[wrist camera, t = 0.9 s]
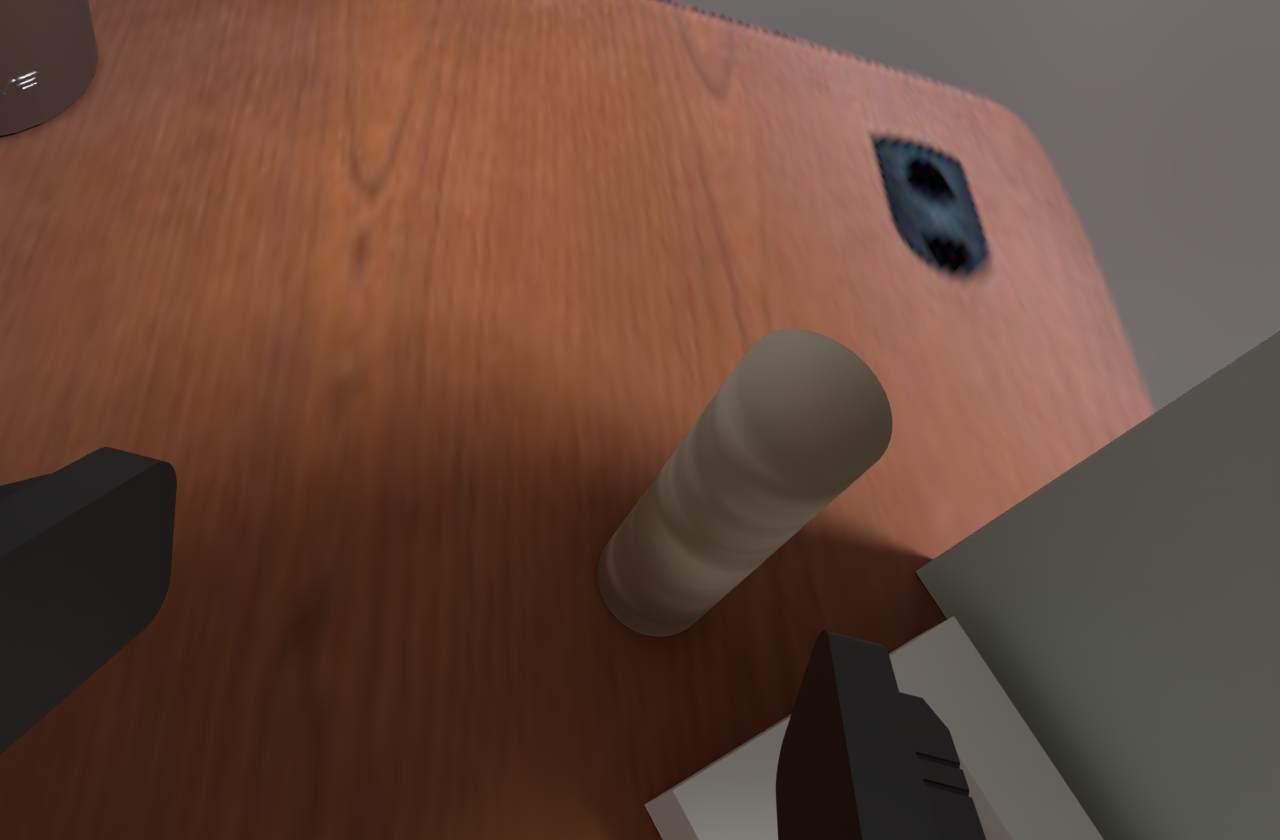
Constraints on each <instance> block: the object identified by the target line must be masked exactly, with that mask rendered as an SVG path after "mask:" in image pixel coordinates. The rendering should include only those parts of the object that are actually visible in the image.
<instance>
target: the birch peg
mask: <svg viewBox="0 0 1280 840" xmlns="http://www.w3.org/2000/svg"><path fill="white" fill-rule="evenodd" d="M891 433H892V414H891V409H890V405H889V401H888V399H887V396H886V393H885V391H884V389H883V387H882V385H881V384H880V382H879V380H878V379H877V377H876V376H875V374H874V373H873V372H872V371H871V369H870V368H869V367H868V366H867V365H866V364H865V363H864V362H863V360H861V359H860V358H859V357H858V356H857V355H856V354H855V353H853V352H852V351H851V350H849V349H848V348H847V347H845V346H844V345H842V344H840V343H839V342H837V341H835V340H833V339H831V338H829V337H826V336H824V335H821V334H818V333H814V332H810V331H805V330H782V331H777V332H773V333H771V334H768V335H766V336H764V337H762V338H761V339H759V340H758V341H757V342H756V343H755V344H753V345H752V346H751V348H750V349H749V350H748V352H747V353H746V354H745V356H744V357H743V358H742V360H741V361H740V363H739V364H738V365H737V367H736V368H735V369H734V371H733V372H732V373H731V375H730V376H729V378H728V379H727V380H726V382H725V383H724V384H723V386H722V387H721V388H720V390H719V391H718V393H717V394H716V395H715V397H714V398H713V399H712V401H711V402H710V403H709V405H708V406H707V408H706V409H705V410H704V412H703V413H702V414H701V416H700V417H699V418H698V420H697V421H696V423H695V424H694V425H693V427H692V428H691V429H690V431H689V432H688V433H687V435H686V436H685V438H684V439H683V440H682V442H681V443H680V444H679V446H678V447H677V448H676V450H675V451H674V453H673V454H672V455H671V457H670V458H669V459H668V461H667V462H666V463H665V465H664V466H663V468H662V469H661V470H660V472H659V473H658V474H657V476H656V477H655V478H654V480H653V481H652V483H651V484H650V485H649V487H648V488H647V489H646V491H645V492H644V493H643V495H642V496H641V498H640V499H639V500H638V502H637V503H636V504H635V506H634V507H633V508H632V510H631V511H630V513H629V514H628V515H627V517H626V518H625V519H624V521H623V522H622V523H621V525H620V526H619V528H618V529H617V530H616V532H615V533H614V534H613V536H612V537H611V538H610V540H609V541H608V543H607V544H606V545H605V547H604V548H603V550H602V552H601V555H600V557H599V561H598V565H597V582H598V587H599V591H600V594H601V597H602V599H603V601H604V603H605V604H606V606H607V608H608V609H609V611H610V612H611V613H612V614H613V616H614V617H616V618H617V619H618V620H619V621H620V622H621V623H622V624H624V625H625V626H626V627H628V628H630V629H631V630H633V631H636V632H638V633H640V634H644V635H647V636H653V637H666V636H672V635H675V634H678V633H680V632H683V631H684V630H686V629H688V628H689V627H690V626H692V625H693V624H694V623H695V622H696V621H697V620H698V619H700V618H701V617H702V616H703V615H704V614H705V613H706V612H707V611H709V610H710V609H711V608H712V607H713V606H714V605H715V604H717V603H718V602H719V601H720V600H721V599H722V598H723V597H724V596H726V595H727V594H728V593H729V592H730V591H731V590H732V589H733V588H735V587H736V586H737V585H738V584H739V583H740V582H741V581H742V580H744V579H745V578H746V577H747V576H748V575H749V574H750V573H752V572H753V571H754V570H755V569H756V568H757V567H758V566H759V565H761V564H762V563H763V562H764V561H765V560H766V559H767V558H768V557H770V556H771V555H772V554H773V553H774V552H775V551H776V550H777V549H779V548H780V547H781V546H782V545H783V544H784V543H785V542H787V541H788V540H789V539H790V538H791V537H792V536H793V535H794V534H796V533H797V532H798V531H799V530H800V529H801V528H802V527H803V526H805V525H806V524H807V523H808V522H809V521H810V520H811V519H812V518H814V517H815V516H816V515H817V514H818V513H819V512H820V511H822V510H823V509H824V508H825V507H826V506H827V505H828V504H829V503H831V502H832V501H833V500H834V499H835V498H836V497H837V496H838V495H840V494H841V493H842V492H843V491H844V490H845V489H846V488H847V487H849V486H850V485H851V484H852V483H853V482H854V481H855V480H857V479H858V478H859V477H860V476H861V475H862V474H863V473H864V472H866V471H867V470H868V469H869V468H870V467H871V466H872V465H873V464H875V463H876V462H877V461H878V460H879V459H880V458H881V456H882V455H883V454H884V452H885V451H886V449H887V447H888V444H889V442H890V439H891Z"/></svg>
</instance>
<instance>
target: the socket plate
mask: <svg viewBox="0 0 1280 840" xmlns="http://www.w3.org/2000/svg"><path fill="white" fill-rule="evenodd" d="M889 656H890V660H891V663H892V667H893V671H894V674H895V678H896V682H897V685H898V689H899V692H901V693H905V694H909V695H913V696H917V697H921V698H923V699H924V700H925V701H926V703H927V704H928V705H929V706H930V707H931V709H932V710H933V711H934V712H935V713H936V715H937V716H938V717H939V718H940V720H941V721H942V722H943V723H944V724H945V726H946V727H947V728H948V729H949V730H950V733H951V736H952V739H953V742H954V745H955V748H956V751H957V754H958V757H959V760H960V769H962V770H963V772H964V775H965V778H966V781H967V784H968V787H969V790H970V791H969V797H972V799H973V802H974V805H975V808H976V811H977V814H978V817H979V819H980V822H981V825H982V828H983V831H984V834H985V837H986V840H1104V839H1103V838H1102V836H1101V835H1100V833H1099V832H1098V830H1097V829H1096V827H1095V826H1094V824H1093V823H1092V821H1091V820H1090V818H1089V817H1088V815H1087V814H1086V812H1085V811H1084V809H1083V808H1082V806H1081V805H1080V803H1079V802H1078V800H1077V799H1076V797H1075V796H1074V794H1073V793H1072V791H1071V790H1070V788H1069V787H1068V785H1067V784H1066V782H1065V781H1064V779H1063V778H1062V776H1061V775H1060V773H1059V772H1058V770H1057V769H1056V767H1055V766H1054V764H1053V763H1052V762H1051V760H1050V759H1049V757H1048V756H1047V754H1046V753H1045V751H1044V750H1043V748H1042V747H1041V745H1040V744H1039V742H1038V741H1037V739H1036V738H1035V736H1034V735H1033V733H1032V732H1031V730H1030V729H1029V727H1028V726H1027V724H1026V723H1025V721H1024V720H1023V718H1022V717H1021V715H1020V714H1019V712H1018V711H1017V709H1016V708H1015V706H1014V705H1013V703H1012V702H1011V700H1010V699H1009V697H1008V696H1007V694H1006V693H1005V691H1004V690H1003V688H1002V687H1001V685H1000V684H999V682H998V681H997V679H996V678H995V676H994V675H993V673H992V672H991V671H990V669H989V668H988V666H987V665H986V663H985V662H984V660H983V659H982V657H981V656H980V654H979V653H978V651H977V650H976V648H975V647H974V645H973V644H972V642H971V641H970V639H969V638H968V636H967V635H966V633H965V632H964V630H963V629H962V627H961V626H960V624H959V623H958V621H957V620H956V618H955V617H954V616H953V617H951V618H949V619H947V620H946V621H944V622H942V623H940V624H938V625H937V626H935V627H933V628H931V629H929V630H928V631H926V632H924V633H922V634H920V635H919V636H917V637H915V638H913V639H912V640H910V641H908V642H907V643H905V644H904V645H902V646H900V647H899V648H897V649H895V650H894V651H892V652H891V653H889ZM790 717H791V714H790V715H789V716H787V717H785V718H784V719H782V720H780V721H779V722H777V723H776V724H774V725H772V726H771V727H769V728H767V729H766V730H764V731H763V732H761V733H759V734H758V735H756V736H755V737H753V738H751V739H750V740H748V741H746V742H745V743H743V744H742V745H740V746H738V747H737V748H735V749H733V750H732V751H730V752H729V753H727V754H725V755H724V756H722V757H721V758H719V759H717V760H716V761H714V762H712V763H711V764H709V765H708V766H706V767H704V768H703V769H701V770H699V771H698V772H696V773H695V774H693V775H691V776H690V777H688V778H687V779H685V780H683V781H682V782H680V783H678V784H677V785H675V786H674V787H672V788H670V789H669V790H667V791H665V792H664V793H662V794H661V795H659V796H657V797H656V798H654V799H653V800H651V801H649V802H648V803H646V804H644V805H645V807H646V809H647V811H648V813H649V815H650V817H651V818H652V820H653V822H654V824H655V826H656V828H657V830H658V832H659V834H660V836H661V838H662V840H778V828H777V809H776V774H777V767H778V760H779V755H780V750H781V746H782V742H783V738H784V735H785V732H786V729H787V726H788V723H789V720H790Z"/></svg>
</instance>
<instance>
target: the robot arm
mask: <svg viewBox="0 0 1280 840" xmlns="http://www.w3.org/2000/svg"><path fill="white" fill-rule="evenodd" d="M97 60H98V55H97V47H96V40H95V34H94V29H93V24H92V18H91V13H90V8H89V3H88V0H0V136H2V135H7V134H12V133H17V132H20V131H22V130H25V129H28V128H31V127H33V126H36V125H39V124H41V123H44V122H46V121H48V120H49V119H51V118H53V117H54V116H56V115H58V114H60V113H61V112H63V111H65V110H66V109H68V108H69V107H70V106H71V105H72V104H73V103H74V102H75V101H76V100H77V99H78V98H79V97H80V96H81V95H83V94H84V92H85V90H86V89H87V87H88V85H89V84H90V82H91V80H92V79H93V77H94V74H95V69H96V65H97ZM176 487H177V480H176V474H175V470H174V468H173V466H172V465H171V464H170V463H168V462H165V461H161V460H157V459H153V458H149V457H145V456H141V455H137V454H133V453H129V452H125V451H121V450H117V449H113V448H108V447H105V448H100V449H98V450H96V451H94V452H92V453H90V454H88V455H86V456H85V457H83V458H81V459H79V460H77V461H75V462H73V463H71V464H69V465H67V466H66V467H64V468H62V469H60V470H58V471H56V472H54V473H52V474H47V475H43V476H39V477H35V478H31V479H27V480H23V481H19V482H15V483H11V484H7V485H3V486H0V754H1V753H2V752H3V751H5V750H6V749H7V748H8V747H9V746H10V745H11V744H13V743H14V742H15V741H16V740H17V739H18V738H20V737H21V736H22V735H23V734H24V733H25V732H26V731H28V730H29V729H30V728H31V727H32V726H33V725H34V724H36V723H37V722H38V721H39V720H40V719H41V718H43V717H44V716H45V715H46V714H47V713H48V712H49V711H51V710H52V709H53V708H54V707H55V706H56V705H57V704H59V703H60V702H61V701H62V700H63V699H64V698H65V697H67V696H68V695H69V694H70V693H71V692H72V691H74V690H75V689H76V688H77V687H78V686H79V685H80V684H82V683H83V682H84V681H85V680H86V679H87V678H88V677H90V676H91V675H92V674H93V673H94V672H95V671H97V670H98V669H99V668H100V667H101V666H102V665H103V664H105V663H106V662H107V661H108V660H109V659H110V658H111V657H113V656H114V655H115V654H116V653H117V652H118V651H120V650H121V649H122V648H123V647H124V646H125V645H126V644H128V643H129V642H130V641H131V640H132V639H133V638H134V637H136V636H137V635H138V634H139V633H140V632H141V631H142V630H144V629H145V628H146V627H147V626H148V625H149V624H150V622H151V621H152V620H153V619H154V617H155V616H156V614H157V613H158V611H159V609H160V607H161V605H162V603H163V601H164V599H165V596H166V593H167V590H168V587H169V582H170V575H171V561H172V546H173V532H174V517H175V502H176ZM969 791H970V790H969V787H968V784H967V781H966V778H965V775H964V772H963V770H962V769H960V760H959V757H958V754H957V751H956V748H955V745H954V742H953V739H952V736H951V733H950V730H949V729H948V728H947V727H946V726H945V724H944V723H943V722H942V721H941V720H940V718H939V717H938V716H937V715H936V713H935V712H934V711H933V710H932V709H931V707H930V706H929V705H928V704H927V703H926V701H925V700H924V699H923V698H921V697H917V696H913V695H909V694H905V693H901V692H899V689H898V685H897V682H896V678H895V674H894V671H893V667H892V663H891V660H890V656H889V652H888V650H887V647H886V646H885V645H882V644H878V643H874V642H870V641H866V640H862V639H858V638H854V637H851V636H847V635H843V634H839V633H835V632H831V631H827V630H823V631H822V632H821V633H820V635H819V636H818V638H817V640H816V643H815V645H814V648H813V651H812V654H811V657H810V660H809V663H808V666H807V669H806V672H805V675H804V678H803V681H802V684H801V687H800V690H799V693H798V696H797V699H796V702H795V705H794V708H793V711H792V714H791V717H790V720H789V723H788V726H787V729H786V732H785V735H784V738H783V742H782V746H781V750H780V755H779V760H778V767H777V774H776V809H777V828H778V840H986V837H985V834H984V831H983V828H982V825H981V822H980V819H979V817H978V814H977V811H976V808H975V805H974V802H973V799H972V797H969Z"/></svg>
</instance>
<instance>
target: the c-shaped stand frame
mask: <svg viewBox="0 0 1280 840" xmlns="http://www.w3.org/2000/svg"><path fill="white" fill-rule="evenodd" d="M915 572H916V573H917V575H918V576H919V578H920V579H921V581H922V582H923V584H924V585H925V587H926V588H927V590H928V591H929V593H930V594H931V596H932V597H933V599H934V600H935V602H936V603H937V605H938V606H939V608H940V609H941V611H942V612H943V614H944V615H945V617H946V618H947V619H949V618H951V617H953V616H954V617H955V618H956V620H957V621H958V623H959V624H960V626H961V627H962V629H963V630H964V632H965V633H966V635H967V636H968V638H969V639H970V641H971V642H972V644H973V645H974V647H975V648H976V650H977V651H978V653H979V654H980V656H981V657H982V659H983V660H984V662H985V663H986V665H987V666H988V668H989V669H990V671H991V672H992V673H993V675H994V676H995V678H996V679H997V681H998V682H999V684H1000V685H1001V687H1002V688H1003V690H1004V691H1005V693H1006V694H1007V696H1008V697H1009V699H1010V700H1011V702H1012V703H1013V705H1014V706H1015V708H1016V709H1017V711H1018V712H1019V714H1020V715H1021V717H1022V718H1023V720H1024V721H1025V723H1026V724H1027V726H1028V727H1029V729H1030V730H1031V732H1032V733H1033V735H1034V736H1035V738H1036V739H1037V741H1038V742H1039V744H1040V745H1041V747H1042V748H1043V750H1044V751H1045V753H1046V754H1047V756H1048V757H1049V759H1050V760H1051V762H1052V763H1053V764H1054V766H1055V767H1056V769H1057V770H1058V772H1059V773H1060V775H1061V776H1062V778H1063V779H1064V781H1065V782H1066V784H1067V785H1068V787H1069V788H1070V790H1071V791H1072V793H1073V794H1074V796H1075V797H1076V799H1077V800H1078V802H1079V803H1080V805H1081V806H1082V808H1083V809H1084V811H1085V812H1086V814H1087V815H1088V817H1089V818H1090V820H1091V821H1092V823H1093V824H1094V826H1095V827H1096V829H1097V830H1098V832H1099V833H1100V835H1101V836H1102V838H1103V839H1104V840H1280V331H1279V332H1277V333H1276V334H1274V335H1273V336H1271V337H1270V338H1268V339H1267V340H1265V341H1264V342H1262V343H1260V344H1259V345H1257V346H1256V347H1254V348H1253V349H1251V350H1250V351H1248V352H1247V353H1245V354H1244V355H1242V356H1241V357H1239V358H1238V359H1236V360H1235V361H1233V362H1232V363H1230V364H1229V365H1227V366H1226V367H1224V368H1223V369H1221V370H1220V371H1218V372H1217V373H1215V374H1214V375H1212V376H1211V377H1209V378H1207V379H1206V380H1204V381H1203V382H1202V383H1200V384H1198V385H1197V386H1195V387H1194V388H1192V389H1191V390H1189V391H1188V392H1186V393H1185V394H1183V395H1182V396H1180V397H1179V398H1177V399H1176V400H1174V401H1173V402H1171V403H1170V404H1168V405H1167V406H1165V407H1164V408H1162V409H1161V410H1159V411H1157V412H1156V413H1154V414H1153V415H1151V416H1150V417H1148V418H1147V419H1145V420H1144V421H1142V422H1141V423H1139V424H1138V425H1136V426H1135V427H1133V428H1132V429H1130V430H1129V431H1127V432H1126V433H1124V434H1123V435H1121V436H1120V437H1118V438H1117V439H1115V440H1114V441H1112V442H1111V443H1109V444H1107V445H1106V446H1104V447H1103V448H1101V449H1100V450H1098V451H1097V452H1095V453H1094V454H1092V455H1091V456H1089V457H1088V458H1086V459H1085V460H1083V461H1082V462H1080V463H1079V464H1077V465H1076V466H1074V467H1073V468H1071V469H1070V470H1068V471H1067V472H1065V473H1064V474H1062V475H1061V476H1059V477H1058V478H1056V479H1054V480H1053V481H1051V482H1050V483H1048V484H1047V485H1045V486H1044V487H1042V488H1041V489H1039V490H1038V491H1036V492H1035V493H1033V494H1032V495H1030V496H1029V497H1027V498H1026V499H1024V500H1023V501H1021V502H1020V503H1018V504H1017V505H1015V506H1014V507H1012V508H1011V509H1009V510H1008V511H1006V512H1005V513H1003V514H1001V515H1000V516H998V517H997V518H995V519H994V520H992V521H991V522H989V523H988V524H986V525H985V526H983V527H982V528H980V529H979V530H977V531H976V532H974V533H973V534H971V535H970V536H968V537H967V538H965V539H964V540H962V541H961V542H959V543H958V544H956V545H955V546H953V547H952V548H950V549H948V550H947V551H945V552H944V553H942V554H941V555H939V556H938V557H936V558H935V559H933V560H932V561H930V562H929V563H927V564H926V565H924V566H923V567H921V568H920V569H918V570H917V571H915Z"/></svg>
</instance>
